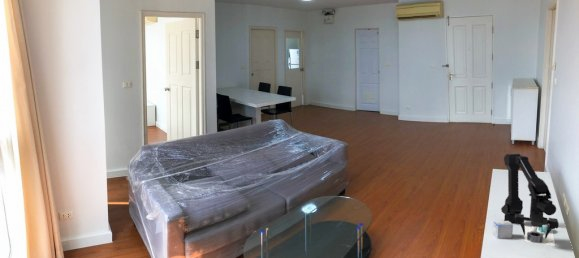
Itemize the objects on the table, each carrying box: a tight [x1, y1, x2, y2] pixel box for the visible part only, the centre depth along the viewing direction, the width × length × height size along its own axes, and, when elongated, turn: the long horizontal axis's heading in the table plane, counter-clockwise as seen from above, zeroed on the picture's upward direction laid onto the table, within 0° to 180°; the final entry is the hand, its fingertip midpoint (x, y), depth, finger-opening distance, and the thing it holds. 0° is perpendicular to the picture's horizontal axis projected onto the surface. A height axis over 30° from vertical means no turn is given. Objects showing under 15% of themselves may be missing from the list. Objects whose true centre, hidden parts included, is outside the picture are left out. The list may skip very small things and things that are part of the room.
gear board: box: [523, 225, 556, 247], centre depth 220 cm, size 13×20×6 cm, turn 153°
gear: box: [527, 231, 543, 244], centre depth 216 cm, size 7×7×3 cm
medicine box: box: [492, 220, 514, 239], centre depth 221 cm, size 8×4×9 cm, turn 92°
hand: (534, 236), depth 216 cm, fingers open, 9 cm apart
